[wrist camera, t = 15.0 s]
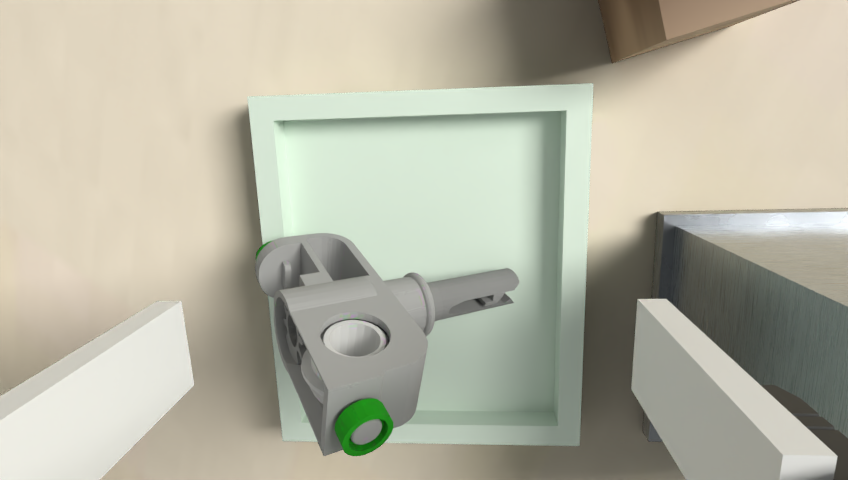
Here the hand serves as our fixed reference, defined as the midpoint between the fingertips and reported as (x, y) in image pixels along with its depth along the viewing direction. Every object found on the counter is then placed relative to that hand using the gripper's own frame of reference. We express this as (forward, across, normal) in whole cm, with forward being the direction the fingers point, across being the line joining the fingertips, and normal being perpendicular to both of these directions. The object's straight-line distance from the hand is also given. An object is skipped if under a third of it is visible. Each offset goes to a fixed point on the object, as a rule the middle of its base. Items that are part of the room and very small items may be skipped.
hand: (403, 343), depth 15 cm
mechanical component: (+8, +4, -1) cm, 9 cm away
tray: (+10, 0, -1) cm, 10 cm away
